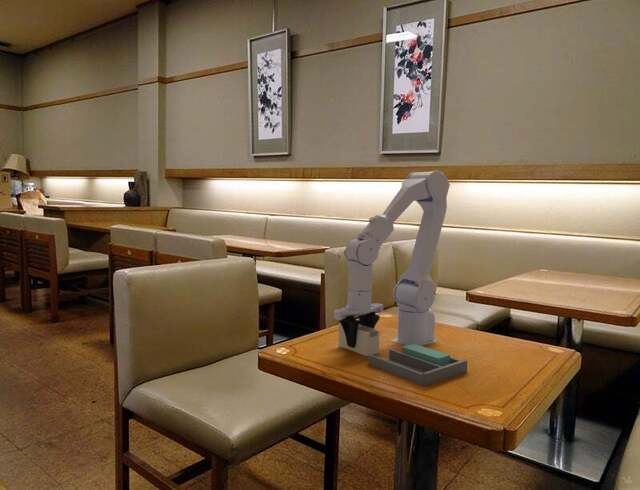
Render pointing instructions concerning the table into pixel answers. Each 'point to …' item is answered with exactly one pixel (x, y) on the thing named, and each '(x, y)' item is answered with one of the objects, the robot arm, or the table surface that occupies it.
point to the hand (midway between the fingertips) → (358, 344)
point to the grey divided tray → (418, 367)
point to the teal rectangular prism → (427, 354)
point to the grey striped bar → (362, 340)
